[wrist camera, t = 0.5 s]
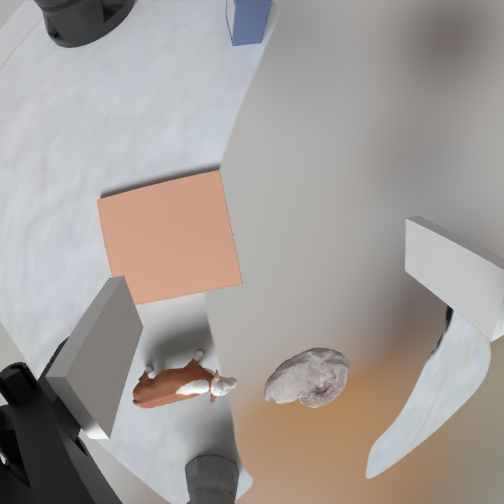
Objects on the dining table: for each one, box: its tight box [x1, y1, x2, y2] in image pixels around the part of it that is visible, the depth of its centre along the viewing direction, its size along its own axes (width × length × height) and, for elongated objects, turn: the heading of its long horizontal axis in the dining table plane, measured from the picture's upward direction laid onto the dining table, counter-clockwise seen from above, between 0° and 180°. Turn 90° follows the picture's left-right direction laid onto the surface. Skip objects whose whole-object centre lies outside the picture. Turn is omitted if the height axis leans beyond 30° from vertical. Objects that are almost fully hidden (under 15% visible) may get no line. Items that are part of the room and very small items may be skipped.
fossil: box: [264, 348, 349, 408], centre depth 39 cm, size 12×4×10 cm
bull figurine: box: [133, 350, 237, 408], centre depth 35 cm, size 4×13×8 cm, turn 105°
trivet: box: [97, 170, 242, 305], centre depth 36 cm, size 14×16×1 cm
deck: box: [226, 0, 272, 46], centre depth 30 cm, size 6×4×10 cm
